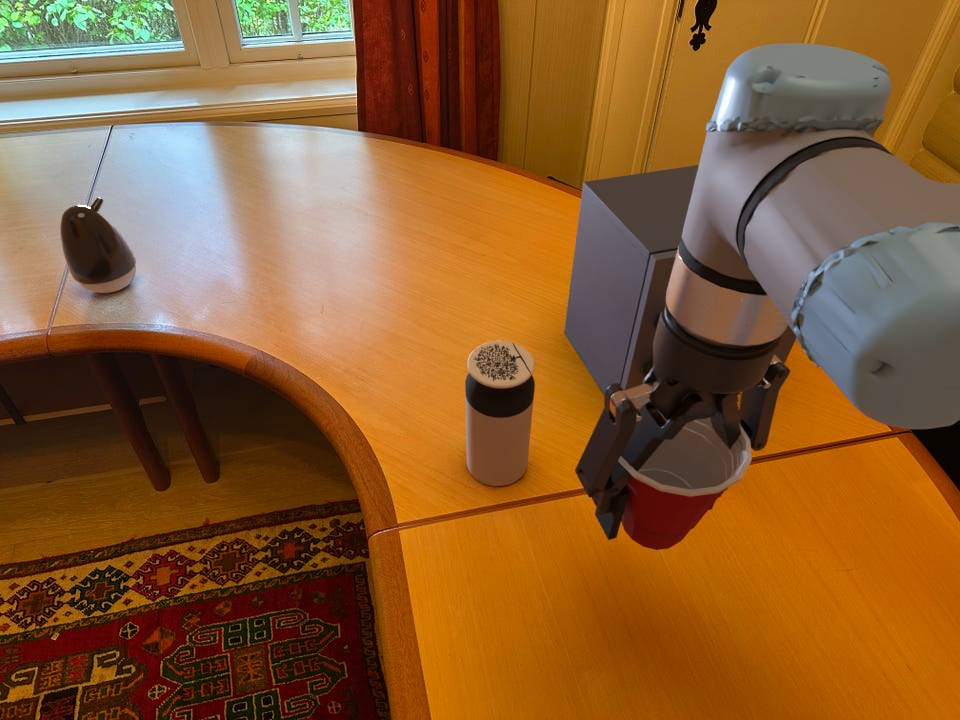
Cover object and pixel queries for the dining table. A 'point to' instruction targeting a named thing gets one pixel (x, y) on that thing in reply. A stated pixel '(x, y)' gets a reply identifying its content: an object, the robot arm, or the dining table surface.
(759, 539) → the dining table surface
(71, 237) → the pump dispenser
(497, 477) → the travel mug
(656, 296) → the cupboard door
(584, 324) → the cupboard
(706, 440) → the plastic cup
